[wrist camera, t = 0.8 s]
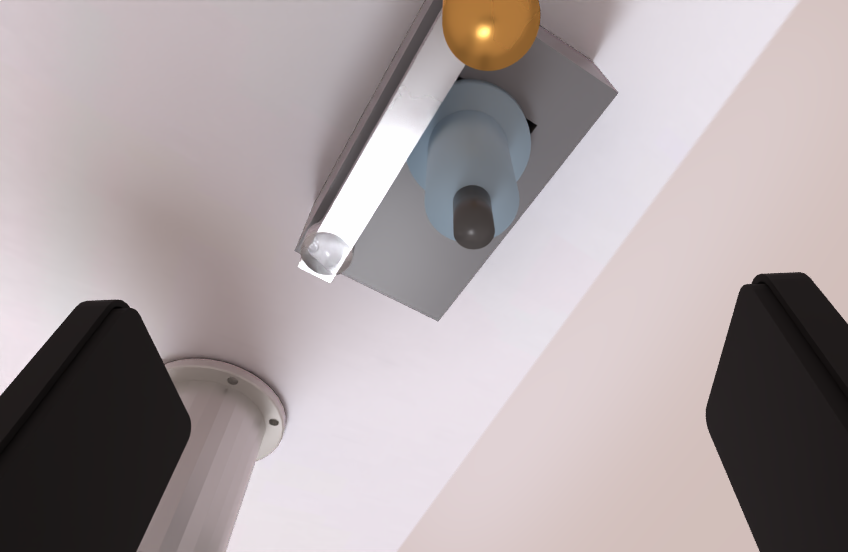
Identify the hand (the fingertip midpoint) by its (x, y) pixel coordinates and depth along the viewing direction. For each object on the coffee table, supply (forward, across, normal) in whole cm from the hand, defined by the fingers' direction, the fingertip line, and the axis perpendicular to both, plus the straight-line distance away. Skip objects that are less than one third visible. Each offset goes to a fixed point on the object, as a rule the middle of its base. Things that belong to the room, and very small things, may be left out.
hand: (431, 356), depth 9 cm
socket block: (+28, +1, +8) cm, 29 cm away
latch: (+20, +3, +4) cm, 21 cm away
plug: (+26, 0, +6) cm, 27 cm away
